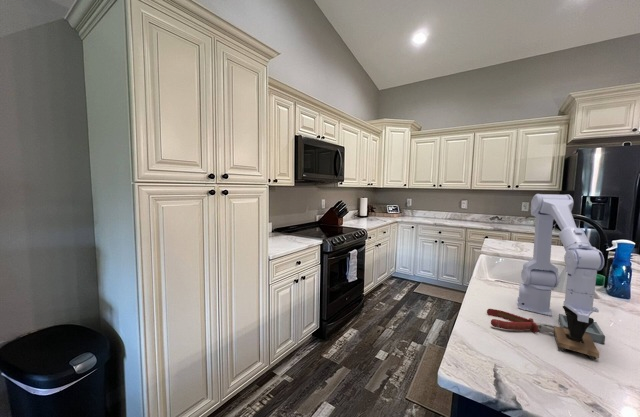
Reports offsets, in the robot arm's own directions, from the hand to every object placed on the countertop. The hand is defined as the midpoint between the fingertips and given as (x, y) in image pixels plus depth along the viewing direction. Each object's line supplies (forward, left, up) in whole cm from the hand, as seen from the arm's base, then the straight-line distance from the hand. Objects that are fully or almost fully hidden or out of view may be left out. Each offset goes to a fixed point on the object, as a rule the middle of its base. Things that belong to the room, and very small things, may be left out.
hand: (574, 335), depth 75 cm
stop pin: (0, 0, -3) cm, 3 cm away
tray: (+3, +12, -3) cm, 13 cm away
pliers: (-12, +2, -3) cm, 13 cm away
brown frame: (0, 0, -3) cm, 3 cm away
